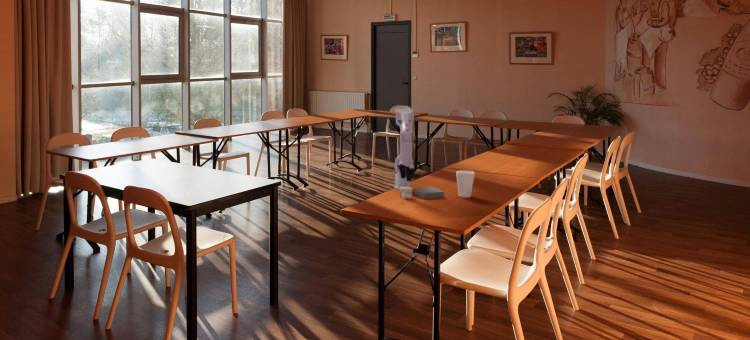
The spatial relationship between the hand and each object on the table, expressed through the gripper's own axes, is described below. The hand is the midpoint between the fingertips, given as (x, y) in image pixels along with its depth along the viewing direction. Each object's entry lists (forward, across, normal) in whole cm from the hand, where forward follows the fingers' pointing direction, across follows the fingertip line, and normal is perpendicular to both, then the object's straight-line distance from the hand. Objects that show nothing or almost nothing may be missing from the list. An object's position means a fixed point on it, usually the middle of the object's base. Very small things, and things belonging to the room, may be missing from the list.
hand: (406, 179), depth 346 cm
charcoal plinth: (+9, 0, +13) cm, 16 cm away
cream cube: (+9, 0, 0) cm, 9 cm away
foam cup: (+10, +7, +31) cm, 33 cm away
